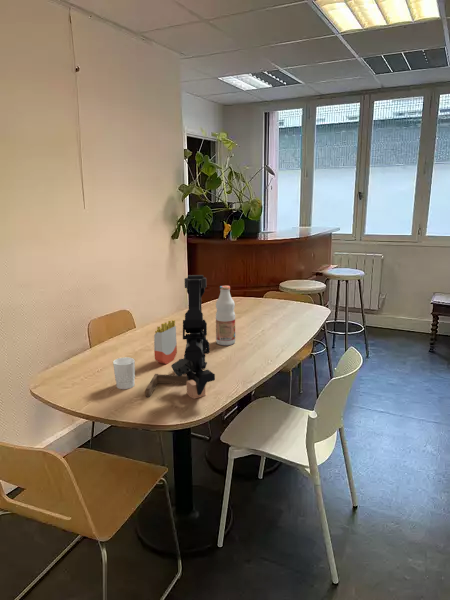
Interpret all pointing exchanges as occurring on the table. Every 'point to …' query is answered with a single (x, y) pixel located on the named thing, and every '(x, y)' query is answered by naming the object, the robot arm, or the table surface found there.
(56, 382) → the table surface
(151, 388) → the walnut fence
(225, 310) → the fruit juice
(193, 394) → the light brown cube
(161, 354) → the french fries container
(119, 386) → the white cup
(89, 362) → the table surface
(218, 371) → the table surface
